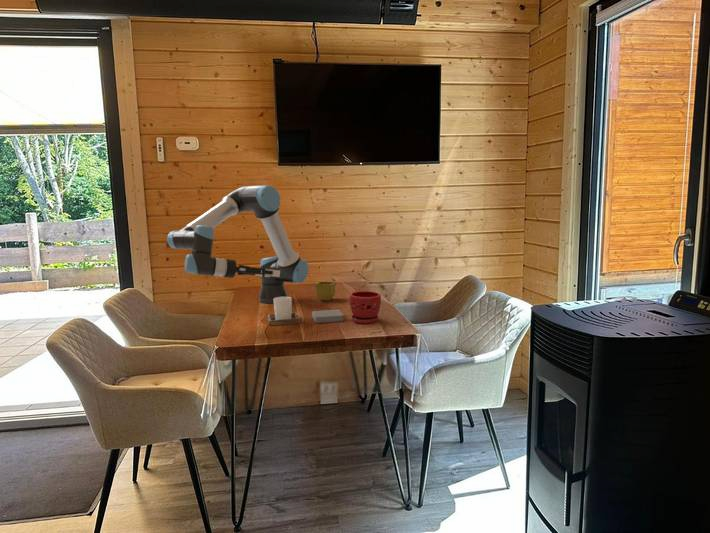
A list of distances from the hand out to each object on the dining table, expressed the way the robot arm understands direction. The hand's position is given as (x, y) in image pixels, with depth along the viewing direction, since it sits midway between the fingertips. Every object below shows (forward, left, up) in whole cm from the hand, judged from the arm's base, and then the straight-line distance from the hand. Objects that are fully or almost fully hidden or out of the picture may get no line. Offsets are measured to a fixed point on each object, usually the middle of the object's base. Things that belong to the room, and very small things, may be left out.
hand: (274, 274), depth 206 cm
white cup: (+1, +3, -21) cm, 21 cm away
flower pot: (-39, +28, -21) cm, 52 cm away
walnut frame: (+1, +3, -21) cm, 21 cm away
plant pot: (+12, +37, -21) cm, 44 cm away
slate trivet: (+3, +22, -21) cm, 30 cm away
